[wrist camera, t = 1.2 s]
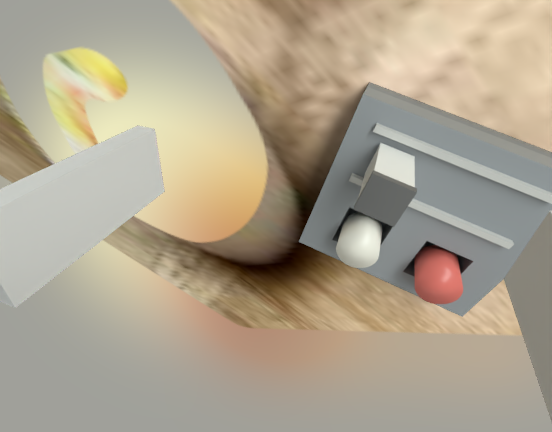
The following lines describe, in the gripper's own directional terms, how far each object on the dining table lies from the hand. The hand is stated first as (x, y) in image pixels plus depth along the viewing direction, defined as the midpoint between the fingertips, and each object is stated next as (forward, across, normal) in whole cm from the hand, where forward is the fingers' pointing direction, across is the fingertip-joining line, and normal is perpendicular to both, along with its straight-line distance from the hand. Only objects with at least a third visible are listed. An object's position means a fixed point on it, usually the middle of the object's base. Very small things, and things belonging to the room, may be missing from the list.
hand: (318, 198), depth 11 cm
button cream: (+19, +2, -14) cm, 24 cm away
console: (+23, +7, -11) cm, 27 cm away
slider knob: (+18, +3, -6) cm, 19 cm away
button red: (+19, +10, -16) cm, 27 cm away
